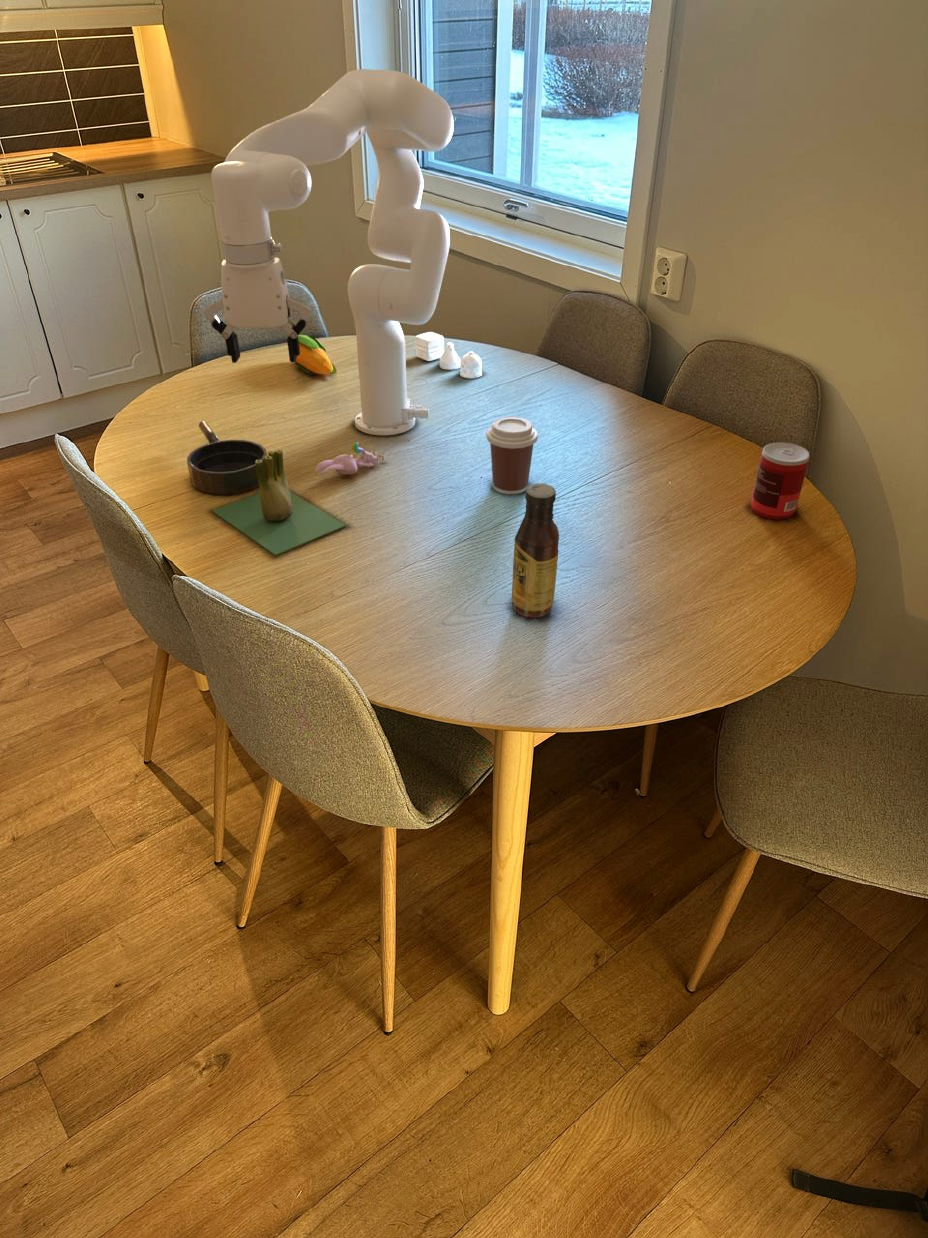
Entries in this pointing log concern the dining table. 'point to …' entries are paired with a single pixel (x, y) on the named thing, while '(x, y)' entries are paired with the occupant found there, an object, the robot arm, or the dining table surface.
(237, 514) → the cloth
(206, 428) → the pan handle
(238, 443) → the pan
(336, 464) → the rabbit figure
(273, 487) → the fennel bulb
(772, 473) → the canned food
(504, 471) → the coffee cup
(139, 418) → the dining table surface
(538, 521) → the sauce bottle
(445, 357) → the container set
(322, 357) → the corn
